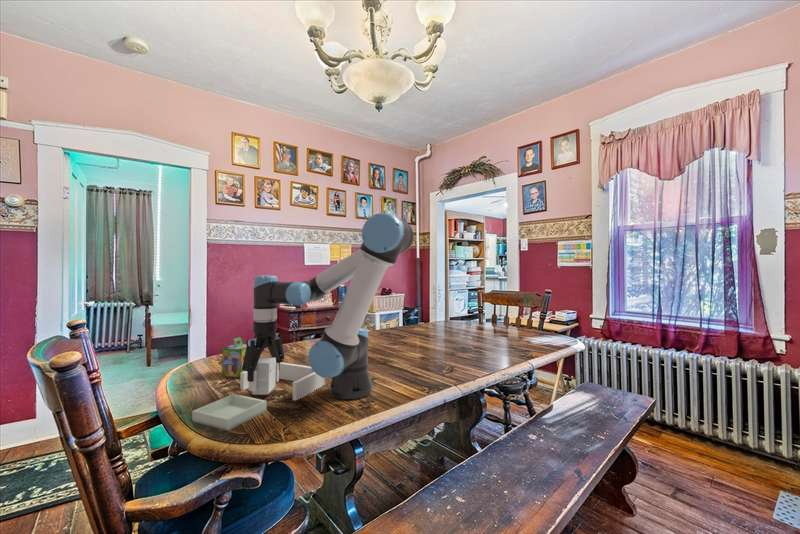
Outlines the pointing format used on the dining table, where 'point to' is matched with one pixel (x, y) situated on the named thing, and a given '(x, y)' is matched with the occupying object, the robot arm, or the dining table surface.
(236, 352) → the chalk box
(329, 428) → the dining table surface
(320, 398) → the dining table surface
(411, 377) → the dining table surface
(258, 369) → the small box
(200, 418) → the tray
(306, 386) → the bay
